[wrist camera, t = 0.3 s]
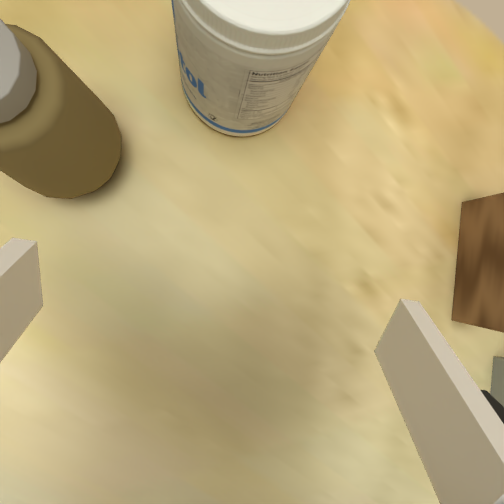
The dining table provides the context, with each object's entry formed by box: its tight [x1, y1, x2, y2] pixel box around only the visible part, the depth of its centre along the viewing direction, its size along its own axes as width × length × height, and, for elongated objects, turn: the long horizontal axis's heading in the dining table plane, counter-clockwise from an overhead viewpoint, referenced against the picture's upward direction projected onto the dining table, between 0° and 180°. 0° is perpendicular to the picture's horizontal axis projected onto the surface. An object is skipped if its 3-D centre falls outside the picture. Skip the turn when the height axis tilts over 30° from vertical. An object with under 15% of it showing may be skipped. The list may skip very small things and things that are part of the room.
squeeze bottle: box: [0, 19, 121, 199], centre depth 20 cm, size 8×8×18 cm
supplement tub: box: [172, 0, 350, 136], centre depth 24 cm, size 10×10×15 cm
